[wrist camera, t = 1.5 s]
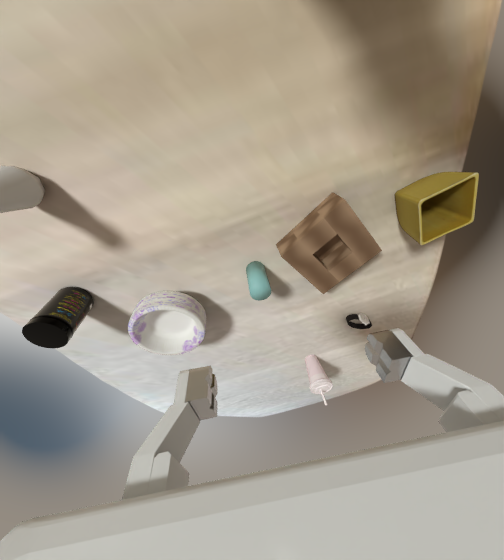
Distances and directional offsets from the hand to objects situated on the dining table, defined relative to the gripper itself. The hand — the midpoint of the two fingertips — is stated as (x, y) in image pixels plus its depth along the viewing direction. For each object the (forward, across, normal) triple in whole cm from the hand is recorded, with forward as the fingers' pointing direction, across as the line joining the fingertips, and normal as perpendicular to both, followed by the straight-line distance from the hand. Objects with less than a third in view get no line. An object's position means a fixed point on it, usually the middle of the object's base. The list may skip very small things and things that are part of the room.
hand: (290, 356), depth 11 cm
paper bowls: (+34, +20, +22) cm, 45 cm away
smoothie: (+35, -13, +52) cm, 64 cm away
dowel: (+34, -1, +16) cm, 37 cm away
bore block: (+34, -15, +12) cm, 39 cm away
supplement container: (+34, +38, +14) cm, 53 cm away
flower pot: (+33, -32, +6) cm, 47 cm away
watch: (+34, -26, +38) cm, 57 cm away
